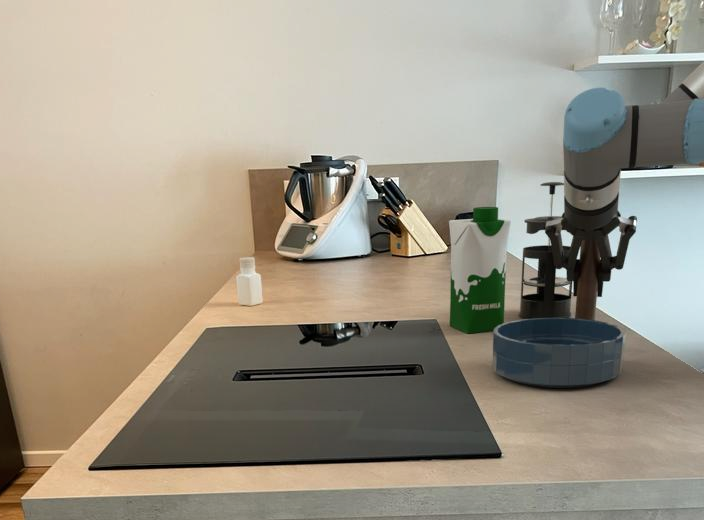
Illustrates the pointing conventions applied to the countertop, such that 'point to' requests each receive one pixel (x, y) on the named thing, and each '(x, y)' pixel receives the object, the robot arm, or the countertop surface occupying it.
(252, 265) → the pepper shaker
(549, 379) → the bowl
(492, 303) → the milk carton
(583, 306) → the brown wooden cylinder
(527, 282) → the french press
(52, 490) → the countertop surface
